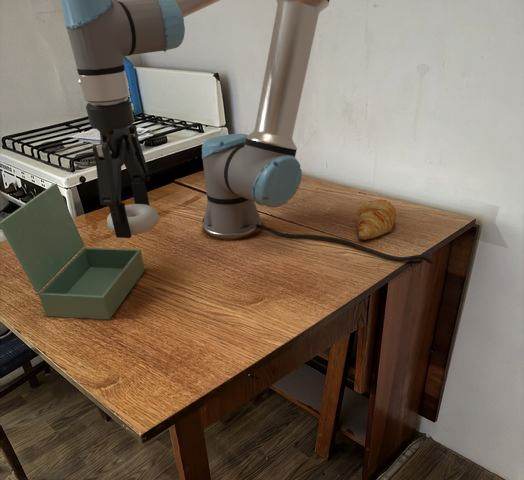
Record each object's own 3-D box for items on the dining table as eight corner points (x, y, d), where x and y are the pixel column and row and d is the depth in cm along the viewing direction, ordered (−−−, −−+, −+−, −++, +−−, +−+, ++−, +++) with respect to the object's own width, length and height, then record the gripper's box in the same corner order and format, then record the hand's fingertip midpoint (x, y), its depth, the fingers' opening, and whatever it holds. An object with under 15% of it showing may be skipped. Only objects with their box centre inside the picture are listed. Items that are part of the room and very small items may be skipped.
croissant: (371, 258, 123) (389, 233, 117) (338, 234, 123) (354, 209, 117) (394, 223, 137) (411, 200, 132) (364, 203, 138) (380, 179, 132)
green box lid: (56, 183, 106) (53, 183, 106) (1, 222, 89) (-3, 223, 90) (85, 245, 114) (82, 246, 114) (39, 291, 98) (35, 292, 98)
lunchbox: (145, 270, 115) (140, 249, 112) (109, 319, 99) (103, 297, 96) (89, 267, 117) (84, 247, 114) (46, 316, 101) (38, 294, 98)
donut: (98, 232, 97) (135, 242, 92) (93, 215, 95) (131, 224, 90) (134, 214, 103) (171, 222, 99) (131, 198, 101) (167, 205, 97)
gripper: (114, 87, 93) (137, 203, 107) (54, 116, 76) (91, 250, 89) (151, 87, 92) (171, 203, 106) (99, 116, 74) (130, 252, 88)
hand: (134, 225), depth 97 cm, fingers closed on donut, 10 cm apart
